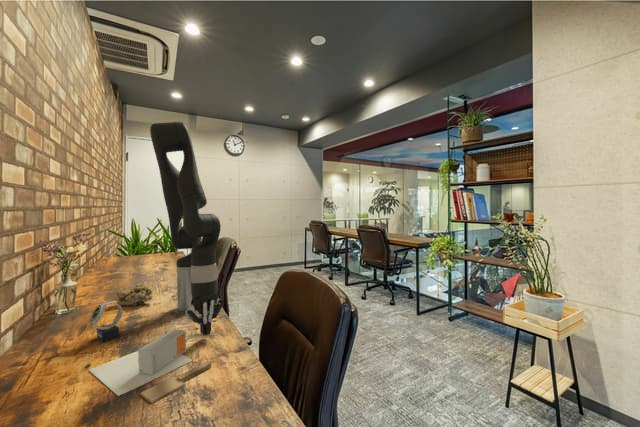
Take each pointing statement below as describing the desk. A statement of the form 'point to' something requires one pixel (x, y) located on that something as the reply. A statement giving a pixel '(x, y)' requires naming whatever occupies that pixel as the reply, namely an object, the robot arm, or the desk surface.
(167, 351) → the skincare box
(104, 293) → the desk surface
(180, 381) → the wooden turner
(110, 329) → the watch
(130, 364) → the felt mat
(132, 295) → the mineral formation
